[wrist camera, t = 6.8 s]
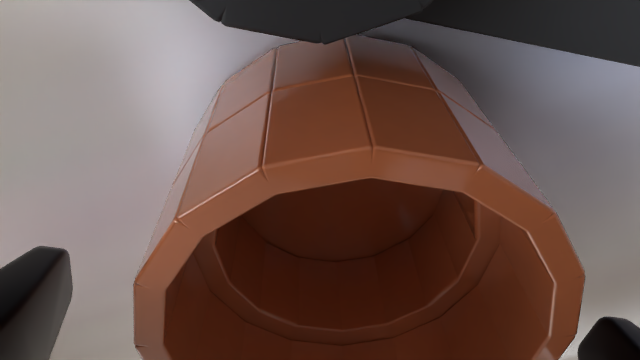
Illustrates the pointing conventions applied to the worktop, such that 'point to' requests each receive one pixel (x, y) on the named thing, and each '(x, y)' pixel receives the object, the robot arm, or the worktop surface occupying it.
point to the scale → (449, 20)
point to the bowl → (353, 223)
